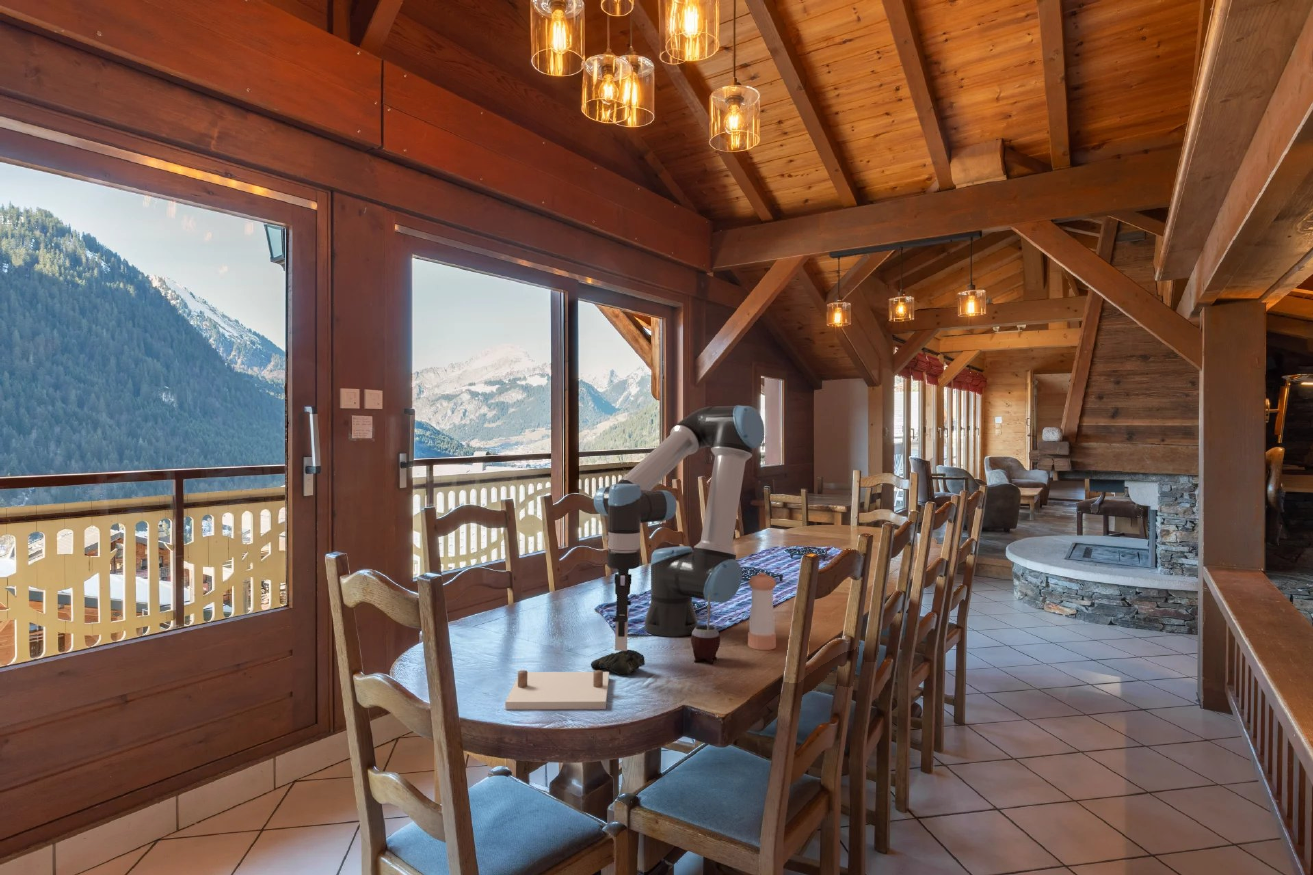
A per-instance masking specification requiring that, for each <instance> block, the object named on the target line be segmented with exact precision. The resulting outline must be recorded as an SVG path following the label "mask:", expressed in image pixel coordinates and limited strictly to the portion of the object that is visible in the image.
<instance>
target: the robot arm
mask: <svg viewBox="0 0 1313 875" xmlns="http://www.w3.org/2000/svg"><path fill="white" fill-rule="evenodd" d="M669 434H670V435H668V437H666V438H665V439H664V440H663V441H662V442H660V443H659V444H658V446H656V447H655V448H654V449H653V450H652V451H650V453H649V454H648V455H646V456H645V457H644V458H643V459H641V461H639V462H638V464H636V465H635V466H634V467H633V468H631V470H629V471H628V472H627V473H626V474H625V475H624V476H623V477H622V478H621V479H619V481H617V482H616V483H614V484H611V485H609V486H603V487H600V488H599V489H598V490H596V492H595V494H594V497H593V507H594V509H595V511H596V512H597V513H598V514H599V515H602V516H605V517H608V518H607V522H608V523H607V524H608V525H607V534H608V535H605V540H606V541H607V548H608V551H607V556H606V560H607V561H606V565H607V568H610V569H615V570H616V569H617V573H615V574H614V578H613V579H614V580H613V581H614V594H615V595H616V603H615V604H616V605H615V606H616V610H615V611H616V612H615V617H612V623H615V633H614V635H615V636H614V637H615V638H614V651H617V652H620V651H627V650H628V634H629V606H632V600H629V599H630V598H629V595H630V594H631V585H632V574H631V573H630V574H629V570H634V569H637V568H639V566H640V557H641V556H640V551H639V550H640V549H641V524H643V523H644V524H645V523H654V522H655V523H656V522H660V523H661V522H664V521H668V520H670V519H672V518H673V517H674V516H675V514H676V512H677V504H678V503H677V499H676V497H675V496H674V494H673V493H672V492H670V491H668V490H662V489H661V490H660V489H657V490H653V489H654V487H656V486H657V485H658V484H659V483H660V482H661V481H662V480H663V479H664V478H665V477H666V476H667V475H668V474H669V473H671V471H672V470H674V469H675V468H676V467H677V466H678V465H679V464H681V462H682V461H683V460H684V459H685V458H686V457H687V456H689V455H693V454H696V453H697V451H699V450H701V449H704V448H707V447H709V448H710V451H711V453H712V454H713V455H714V461H713V466H712V472H711V478H710V485H709V490H708V497H707V503H706V507H705V508H706V509H705V514H704V520H703V525H702V530H701V538H700V541H699V542H698V543H697V544H696V545H694V546H693V548H692V547H691V546H683V545H682V546H671V547H670V546H669V547H664V548H663V547H662V548H658V549H654V551H653V552H652V553H651V561H650V604H649V606H648V609H647V612H646V616H645V619H644V631H645V630H646V631H645V632H647V633H648V634H651V635H655V636H660V637H672V638H673V637H674V638H675V637H683V636H684V637H685V636H686V637H687V636H690V635H692V632H693V630H694V628H695V627H696V626H699V620H698V618H697V614H696V611H695V607H694V604H693V598H694V599H697V600H699V599H700V600H704V601H707V602H708V596H709V594H711V599H710V603H719V604H720V603H723V604H724V603H727V602H728V601H730V600H732V599H733V597H735V596H736V594H737V592H738V591H739V589H740V587H741V583H742V579H743V570H742V566H741V564H740V563H739V562H738V561H737V560H736V559H737V553H736V552H735V550H734V549H733V541H734V534H735V528H736V522H737V517H738V510H739V505H740V498H741V492H742V485H743V480H744V473H745V469H746V468H745V467H746V462H747V461H748V460H749V459H751V458H752V457H753V453H754V452H753V451H754V449H757V448H759V447H760V446H761V445H762V444H763V442H764V438H765V424H764V421H763V419H762V416H761V413H760V412H759V411H758V410H757V409H756V407H755V408H754V407H753V406H751V405H741V404H737V405H725V406H724V405H723V406H721V405H720V406H719V405H718V406H714V405H713V406H706V407H702V408H699V409H697V410H696V411H694V412H693V411H692V412H691V413H690V414H688V415H687V416H686V417H684V418H683V419H681V420H680V421H679V422H678V423H676V424H675V425H674V426H673V427H672V428H671V430H670V433H669Z"/></svg>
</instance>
